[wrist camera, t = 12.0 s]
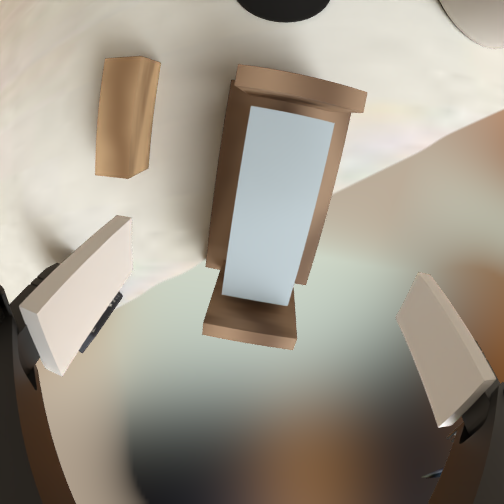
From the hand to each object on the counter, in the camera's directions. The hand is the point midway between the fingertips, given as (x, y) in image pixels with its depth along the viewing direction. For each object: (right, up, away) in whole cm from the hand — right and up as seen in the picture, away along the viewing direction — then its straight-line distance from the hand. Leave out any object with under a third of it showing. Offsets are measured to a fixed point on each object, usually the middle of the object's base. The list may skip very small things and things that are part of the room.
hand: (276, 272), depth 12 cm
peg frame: (+1, +8, +18) cm, 20 cm away
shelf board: (+1, +5, +13) cm, 14 cm away
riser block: (-14, +16, +15) cm, 26 cm away
